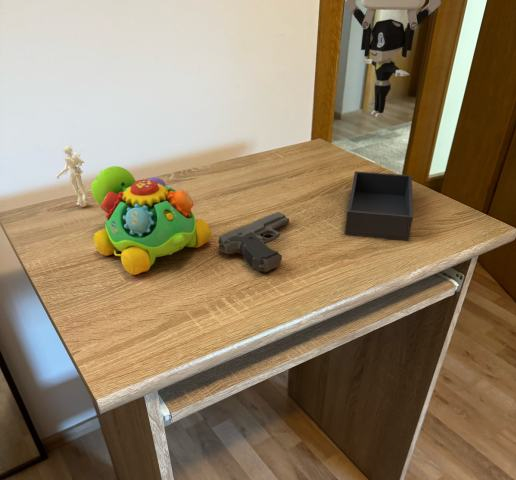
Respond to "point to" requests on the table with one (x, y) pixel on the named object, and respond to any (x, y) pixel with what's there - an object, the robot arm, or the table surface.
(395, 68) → the toy
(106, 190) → the turtle toy
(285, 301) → the table surface
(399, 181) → the dark grey open box
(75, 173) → the figurine
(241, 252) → the handgun
